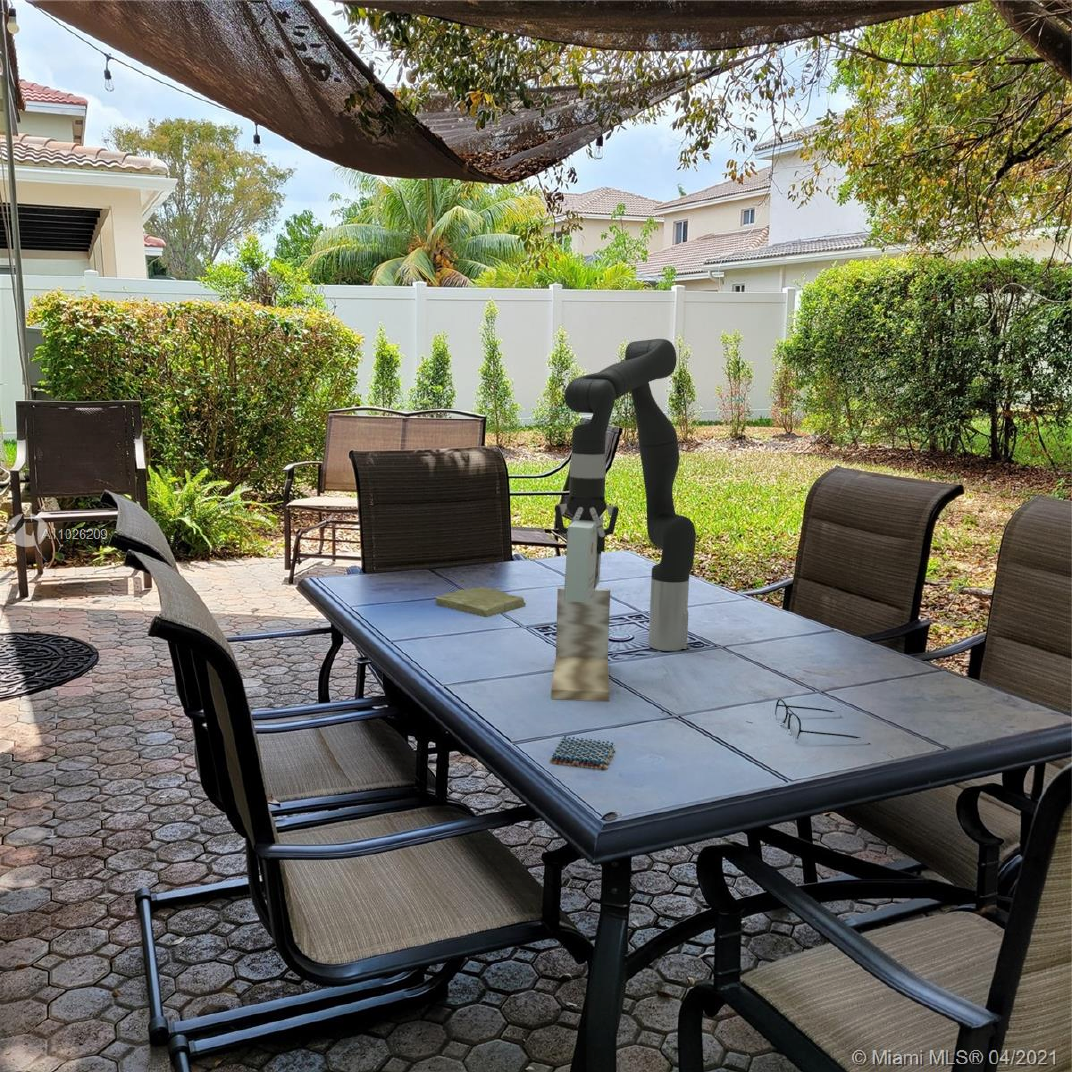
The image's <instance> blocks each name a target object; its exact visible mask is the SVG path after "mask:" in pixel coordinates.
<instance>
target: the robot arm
mask: <svg viewBox="0 0 1072 1072" xmlns="http://www.w3.org/2000/svg"><path fill="white" fill-rule="evenodd" d="M677 360H678V357H677V352H676V348H675V346H674V344H673V343H672V342H671V341H670V340H668V339H667V338H665V339H664V338H654V339H653V338H652V339H644V340H637V341H631V342H630V343H628V344H627V346H626V349H625V352H624V361H623V360H622V361H620V362H616V363H613V364H611V365H609V366H607V367H606V368H603V369H602V370H600V371H599V372H593V373H589V374H586V375H581V376H578V377H576V378H574V379H572V380H571V381H570V382H569V383H568V385H567V386H566V388H565V390H564V394H563V395H564V396H563V397H564V398H563V399H564V402H565V405H566V407H567V408H568V409H569V410H570V411H571V412H574V413H580V414H592V417H591V419H590V421H588V422H587V423H584V424H578V425H576V426H574V427H573V429H572V434H571V435H572V437H571V457H570V461H569V462H570V463H569V493H568V494H569V497H568V501H567V503H562V504H559V503H557V504H555V505H554V513H555V514H554V515H555V520H556V526H557V531H558V533H560V534H562V535H563V534H564V535H565V536H566V537H567V536H568V527H565V526H564V520H563V515H564V514H565V513H566V510H568V511H569V513H570V514H571V515H572V519H571V521H570V522H569V525H570V524H571V523H572V522H573V521H575V520H589V521H596V522H597V521H598V522H597V530H598V533H599V536H598V554H601V555H602V552H604V551H605V545H606V537H607V536H610V535H613V534H614V533H615V528H616V523H617V519H618V515H619V511H620V509H619V506H618V505H610V504H607V503H606V499H605V496H606V475H607V474H606V473H607V470H606V469H607V465H606V464H607V462H606V461H607V460H606V436H607V432H608V427H609V423H610V418H611V416H612V413H613V410H614V407H615V404H616V400H618V399H620V398H621V397H623V396H625V395H627V394H628V393H629V392H630V393H631V398H632V402H633V409H634V415H635V420H636V421H635V422H636V429H637V437H638V447H639V455H640V462H641V467H642V474H643V481H644V482H643V483H644V490H645V503H646V531H647V536H648V539H649V540H650V543H651V544H652V545H653V546H654V547H656V548H658V549H661V558H660V562H659V563H657V564H655V565H653V566H652V568H651V579H650V583H651V584H650V600H649V602H650V603H649V618H648V619H649V622H648V639H647V640H648V644H647V645H648V647H650V648H652V649H654V650H657V651H667V652H676V651H682V650H681V649H687V647H688V630H689V610H688V609H689V608H688V605H689V591H690V590H689V589H690V588H689V587H690V575H691V572H692V569H693V567H694V563H695V562H694V561H695V550H696V543H697V542H696V540H697V539H696V538H697V534H696V533H697V531H696V527H695V524H694V522H693V521H692V520H691V519H690V518H689V517H687V516H684V515H681V514H677V513H676V510H675V509H676V508H675V503H674V496H673V488H674V487H673V486H674V482H675V478H676V476H677V473H678V470H679V464H680V450H679V449H680V448H679V441H678V435H677V431H676V429H675V427H674V426H673V424H672V422H671V421H670V419H669V418H668V417H667V415H666V414H665V413H664V412H663V410H662V409H661V408H660V406H659V405H658V404H657V402H656V400H655V398H654V396H653V392H652V389H651V386H650V382H653V381H655V380H661V379H666V378H668V377H670V376H671V375H672V374H673V373H674V372H675V369H676V366H677ZM605 511H607V514H608V516H609V517H610V518H609V521H608V522H609V523H608V527H607V528H604V525H603V526H602V523H601V520H600V516H601V515H602V514H604V513H605ZM565 548H566V549H567V546H566V547H565ZM687 650H688V649H687Z"/></svg>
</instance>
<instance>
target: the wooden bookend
mask: <svg viewBox="0 0 1072 1072" xmlns="http://www.w3.org/2000/svg"><path fill="white" fill-rule="evenodd" d="M556 598H557V601H556V632H555V634H556V635H555V638H556V639H555V659H554V667H553V675H552V682H551V693H550V694H551V695H550V699H552V700H572V701H573V700H574V701H594V702H595V701H597V702H599V701H600V702H610V678H609V677H610V675H609V641H610V640H609V638H610V636H609V634H610V613H611V611H610V608H611V607H610V606H611V589H609V588H595V590H594V592H593V593H592V595H591V596H590V598H589V599H588V601H587V602H586V603H584V602H570V601H564V587H557V597H556Z"/></svg>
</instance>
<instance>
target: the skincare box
mask: <svg viewBox="0 0 1072 1072" xmlns="http://www.w3.org/2000/svg"><path fill="white" fill-rule="evenodd" d="M604 515H605V514H604V513H603V514H602V515H601V516H600V520H601V523H602V526H603V527H604ZM597 522H598V521H597ZM597 522H596V521H589V520H575V521H573V522H572V523H571V522H570V523H571V524H570V523H569V525H568V526H567V528H568V536H566V547H567V548H566V555H565V557H566V558H565V577H564V587H563V588H564V601H570V602H584V603H586V602H587V601H588V599H589V598H590V596H591V595H592V593H593V592H594V590H595V589H597V587H598V585H599V583H600V580H601V578H600V577H601V561H602V553H601V554H598V536H599V533H598V530H597Z"/></svg>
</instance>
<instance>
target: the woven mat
mask: <svg viewBox="0 0 1072 1072" xmlns="http://www.w3.org/2000/svg"><path fill="white" fill-rule="evenodd" d="M559 740H560V741H558V742H557V747H555V750H554V752H553V753H552V754H551V758H550V759H548V761H549V763H551V764H556V765H558V764H559V765H564V766H565V765H566V766H574V767H581V768H589V769H597V770H607V769H608V766H607V765H609V764H610V763H611V760H613V756H614V753H616V749H615V747H616V744H614V742H610V741H609V740H606V742H605V741H601V739H599V740H595V739H594V740H593V739H592V738H589V740H588V739H586V738H585V739H584V738H583V737H581V738H575V736H572V738H571V737H567V735H563V737H562V738H559Z"/></svg>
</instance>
